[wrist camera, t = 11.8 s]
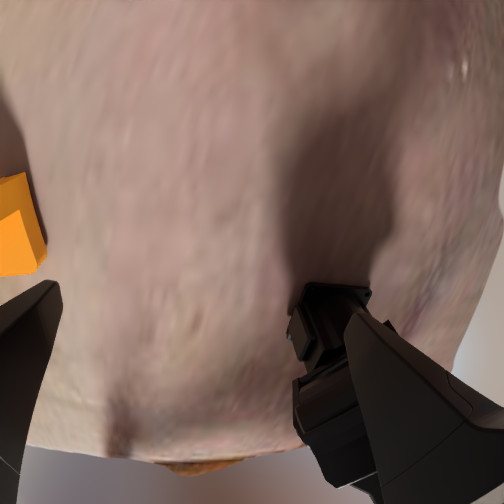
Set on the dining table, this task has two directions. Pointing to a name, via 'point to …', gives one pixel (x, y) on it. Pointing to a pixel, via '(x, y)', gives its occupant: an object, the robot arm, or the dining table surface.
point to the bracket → (19, 229)
